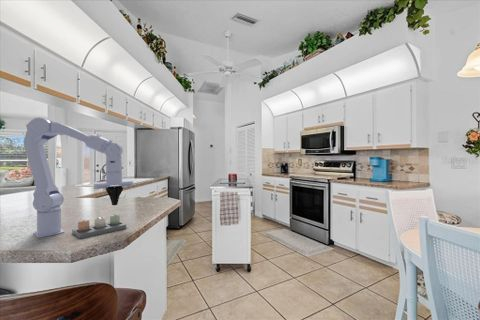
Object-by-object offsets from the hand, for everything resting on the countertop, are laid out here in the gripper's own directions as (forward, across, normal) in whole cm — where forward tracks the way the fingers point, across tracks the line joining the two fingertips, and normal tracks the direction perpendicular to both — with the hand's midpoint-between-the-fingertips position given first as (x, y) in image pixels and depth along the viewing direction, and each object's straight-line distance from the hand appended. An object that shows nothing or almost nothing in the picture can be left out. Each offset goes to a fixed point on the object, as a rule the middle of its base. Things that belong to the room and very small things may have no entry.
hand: (114, 204), depth 95 cm
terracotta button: (+8, -11, 0) cm, 13 cm away
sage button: (+8, 0, 0) cm, 8 cm away
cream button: (+8, -6, 0) cm, 10 cm away
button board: (+9, -6, 0) cm, 11 cm away
